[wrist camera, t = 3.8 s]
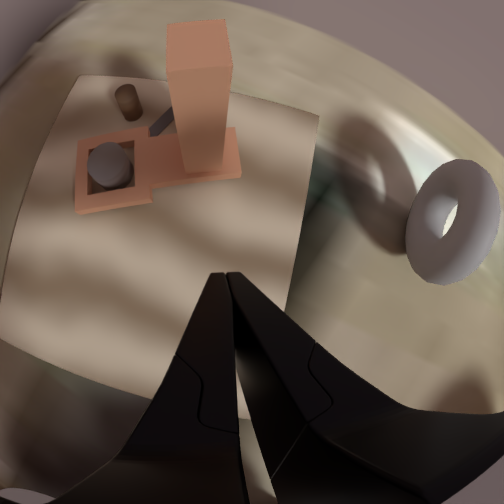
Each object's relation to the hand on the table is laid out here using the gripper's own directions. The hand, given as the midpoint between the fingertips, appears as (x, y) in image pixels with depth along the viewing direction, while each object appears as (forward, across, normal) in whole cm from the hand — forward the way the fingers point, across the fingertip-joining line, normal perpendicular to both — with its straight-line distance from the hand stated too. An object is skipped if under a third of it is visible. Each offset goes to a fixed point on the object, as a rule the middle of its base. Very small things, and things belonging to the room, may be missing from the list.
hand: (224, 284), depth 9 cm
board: (+13, +4, +5) cm, 15 cm away
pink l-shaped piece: (+14, +3, +1) cm, 15 cm away
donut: (+11, -18, +5) cm, 22 cm away
